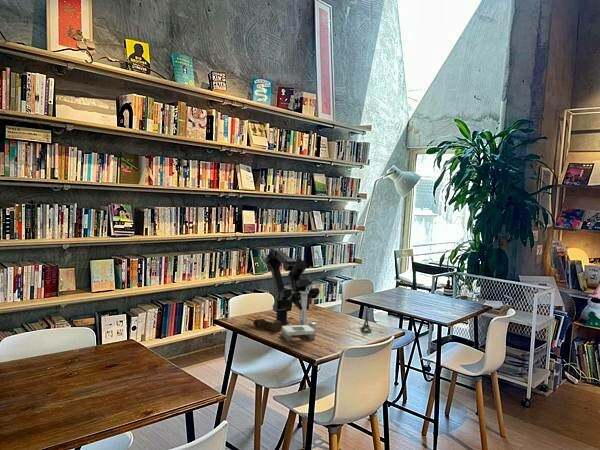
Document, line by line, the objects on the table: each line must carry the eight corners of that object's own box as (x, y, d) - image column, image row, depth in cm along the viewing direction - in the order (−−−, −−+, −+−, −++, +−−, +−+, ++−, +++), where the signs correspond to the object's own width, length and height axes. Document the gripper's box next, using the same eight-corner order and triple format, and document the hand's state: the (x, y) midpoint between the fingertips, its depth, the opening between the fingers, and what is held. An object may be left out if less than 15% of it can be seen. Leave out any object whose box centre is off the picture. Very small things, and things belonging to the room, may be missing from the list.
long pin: (298, 322, 207) (299, 289, 206) (307, 322, 207) (309, 290, 206) (297, 324, 203) (299, 291, 202) (307, 325, 202) (308, 292, 201)
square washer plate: (281, 334, 208) (281, 326, 208) (307, 332, 212) (307, 324, 212) (287, 341, 199) (287, 332, 198) (314, 339, 203) (314, 330, 202)
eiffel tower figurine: (385, 334, 217) (386, 307, 216) (372, 337, 210) (373, 310, 209) (361, 327, 228) (362, 301, 227) (348, 330, 221) (349, 304, 220)
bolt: (255, 329, 221) (279, 334, 213) (250, 326, 218) (274, 331, 209) (259, 318, 224) (283, 322, 215) (254, 315, 220) (278, 319, 212)
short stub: (306, 331, 214) (306, 321, 214) (315, 331, 216) (315, 321, 215) (309, 334, 210) (309, 324, 210) (318, 333, 211) (318, 324, 211)
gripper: (283, 272, 203) (291, 301, 194) (319, 271, 211) (328, 299, 201) (276, 285, 211) (283, 314, 201) (311, 284, 218) (320, 311, 209)
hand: (304, 309), depth 203 cm, fingers closed on long pin, 3 cm apart
